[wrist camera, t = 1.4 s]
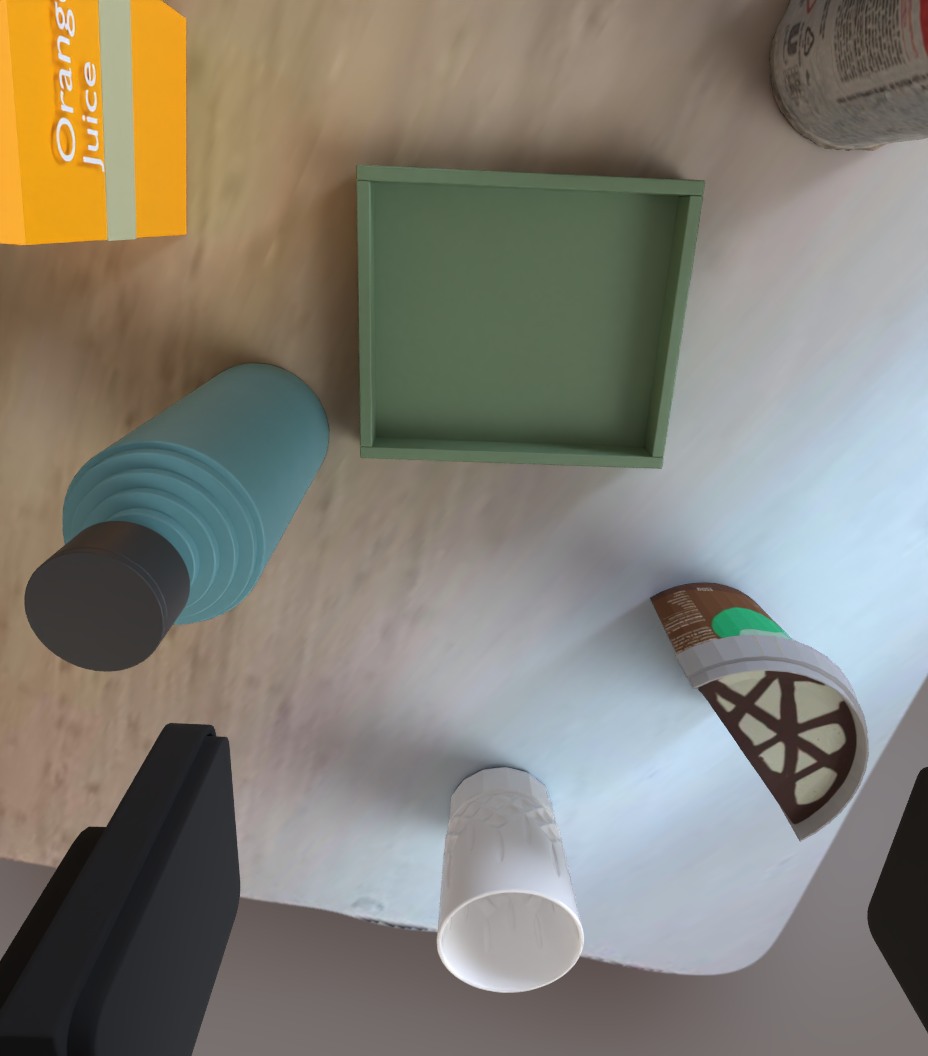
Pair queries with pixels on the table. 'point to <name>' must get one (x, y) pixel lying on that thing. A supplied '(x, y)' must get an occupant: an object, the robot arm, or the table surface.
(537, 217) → the tray
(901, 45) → the spray can
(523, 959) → the white cup
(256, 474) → the bottle
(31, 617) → the cap
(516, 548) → the table surface
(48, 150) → the orange juice
